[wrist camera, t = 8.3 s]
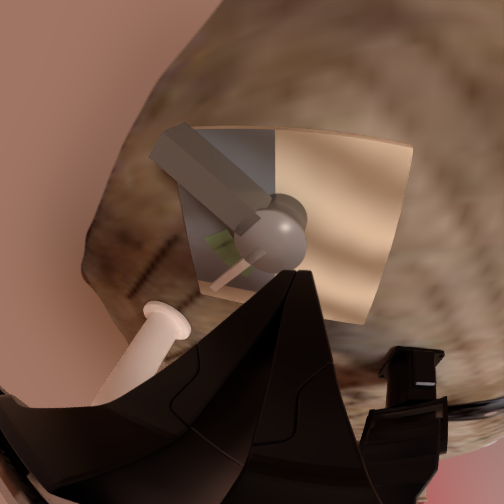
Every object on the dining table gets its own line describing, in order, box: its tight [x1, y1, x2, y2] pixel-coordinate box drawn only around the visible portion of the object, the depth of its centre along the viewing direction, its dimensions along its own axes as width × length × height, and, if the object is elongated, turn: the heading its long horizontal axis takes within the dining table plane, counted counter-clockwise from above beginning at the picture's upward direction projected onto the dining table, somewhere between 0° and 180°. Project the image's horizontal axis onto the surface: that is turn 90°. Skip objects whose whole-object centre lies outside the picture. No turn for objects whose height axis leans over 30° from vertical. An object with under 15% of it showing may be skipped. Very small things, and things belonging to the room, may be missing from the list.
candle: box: [91, 300, 191, 406], centre depth 25 cm, size 7×7×25 cm
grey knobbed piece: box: [149, 122, 308, 292], centre depth 18 cm, size 11×9×3 cm
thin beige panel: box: [177, 126, 413, 325], centre depth 20 cm, size 16×16×1 cm
